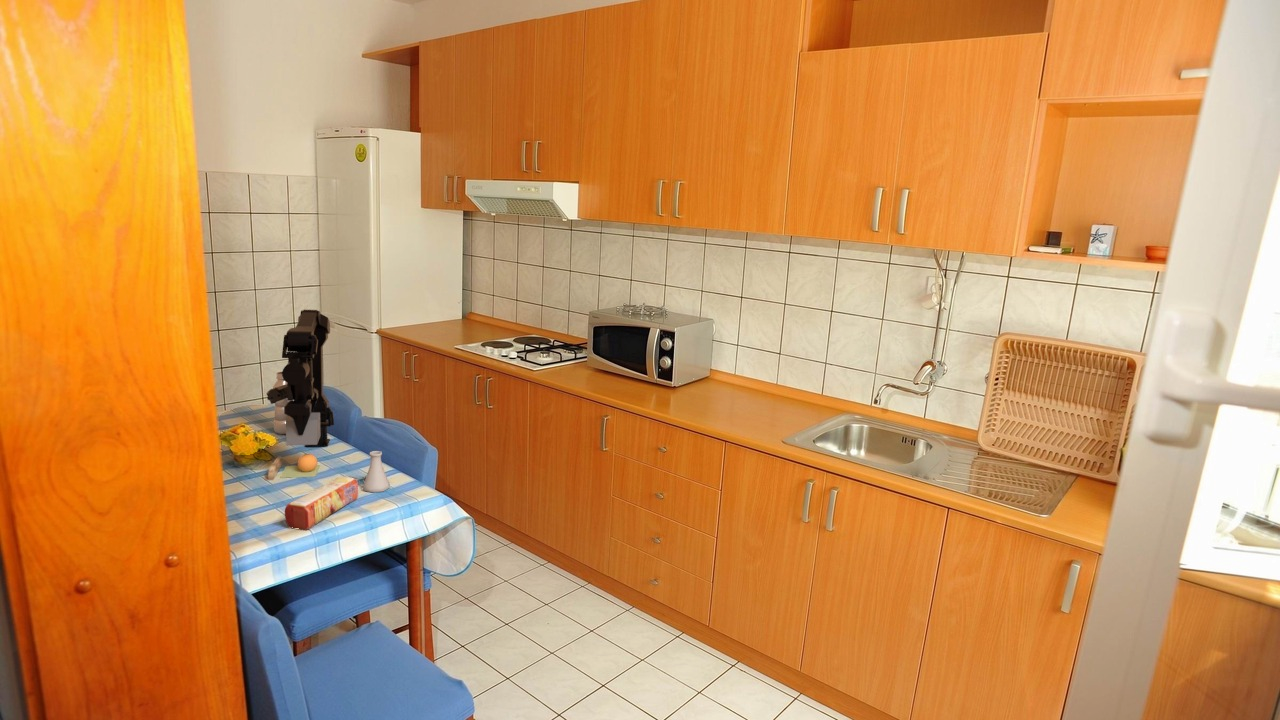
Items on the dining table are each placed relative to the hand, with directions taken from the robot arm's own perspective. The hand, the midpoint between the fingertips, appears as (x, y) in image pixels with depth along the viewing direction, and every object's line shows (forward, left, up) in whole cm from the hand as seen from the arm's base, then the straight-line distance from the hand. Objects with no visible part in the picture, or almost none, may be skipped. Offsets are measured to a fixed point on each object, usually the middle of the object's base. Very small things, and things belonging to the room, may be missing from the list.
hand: (302, 430), depth 203 cm
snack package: (+30, +9, -12) cm, 34 cm away
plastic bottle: (-38, -11, -12) cm, 41 cm away
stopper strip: (0, -7, -12) cm, 14 cm away
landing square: (0, -1, -12) cm, 12 cm away
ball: (0, +1, -9) cm, 9 cm away
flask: (+15, +20, -12) cm, 28 cm away
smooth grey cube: (0, 0, -3) cm, 3 cm away
